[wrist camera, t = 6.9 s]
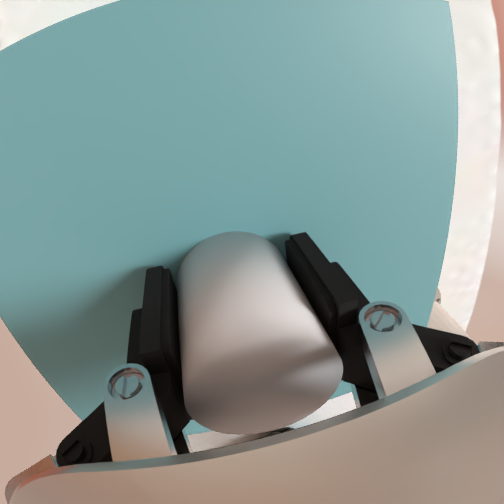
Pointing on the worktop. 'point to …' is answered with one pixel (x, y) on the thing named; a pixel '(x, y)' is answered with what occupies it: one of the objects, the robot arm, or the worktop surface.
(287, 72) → the lid
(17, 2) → the worktop surface
